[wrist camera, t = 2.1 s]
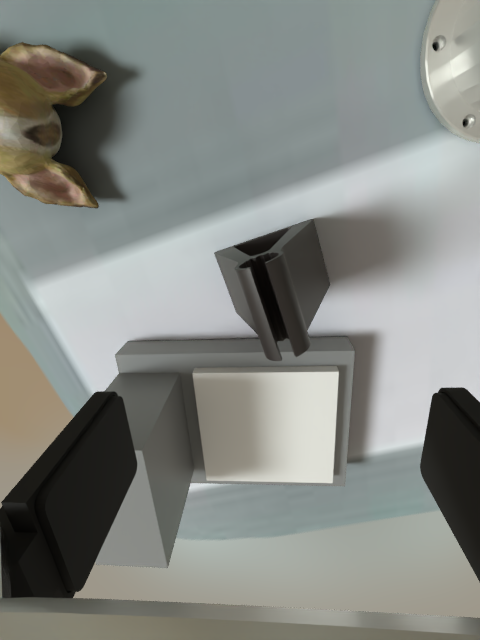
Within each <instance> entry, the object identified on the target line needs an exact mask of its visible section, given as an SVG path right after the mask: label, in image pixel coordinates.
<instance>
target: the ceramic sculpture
mask: <svg viewBox="0 0 480 640" xmlns="http://www.w3.org/2000/svg"><path fill="white" fill-rule="evenodd" d="M106 78H107V74H106V72H103V71H101V70H99V69H97V68H94V67H91V66H90V65H88V64H87V63H85V62H83V61H81V60H79V59H77V58H74V57H72V56H70V55H68V54H66V53H64V52H60V51H58V50H56V49H53V48H51V47H50V46H48V45H30V44H26V43H23V42H22V43H19V44H16V45H14V46H11V47H9V48H8V49H7V50H6V51H4V52H3V53H2V54H1V55H0V174H2V175H3V176H5V177H6V178H7V179H8V181H9V182H10V183H11V184H12V185H13V187H15V188H16V189H17V190H18V191H20V192H21V193H22V194H23V195H25V196H29V197H32V198H35V199H38V200H39V201H41V202H42V203H45V204H58V205H64V206H75V207H83V206H84V207H89V208H98V207H99V206H98V203H97V201H96V200H95V198H94V197H93V196H92V194H91V193H90V191H89V189H88V188H87V186H86V184H85V183H84V181H83V180H82V178H81V177H80V175H79V173H78V172H77V171H76V170H75V169H74V168H72V167H70V166H68V165H65V164H61V163H58V162H56V161H54V160H53V159H51V158H52V157H53V156H54V155H55V154H56V153H57V152H58V150H59V148H60V145H61V140H62V128H61V121H60V119H59V116H58V114H57V112H56V110H55V109H54V107H53V106H52V105H54V104H61V105H66V106H72V107H74V106H78V105H80V104H81V103H82V102H83V101H84V100H85V99H86V98H87V97H88V96H89V95H90V94H91V93H92V92H93V91H94V90H95V89H96V88H97V87H98V86H99V85H100V84H101V83H103V82H104V81H105V80H106Z"/></svg>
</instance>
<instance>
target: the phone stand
mask: <svg viewBox="0 0 480 640" xmlns="http://www.w3.org/2000/svg"><path fill="white" fill-rule="evenodd" d="M214 254H215V256H216V259H217V262H218V264H219V267H220V270H221V272H222V275H223V278H224V281H225V283H226V286H227V289H228V291H229V294H230V297H231V299H232V302H233V305H234V307H235V310H236V313H237V314H238V315H239V316H240V317H241V318H242V319H243V320H244V321H245V322H246V323H247V324H248V325H249V326H250V327H251V328H252V329H253V330H254V331H255V332H256V333H257V334H258V337H259V340H260V343H261V345H262V348H263V351H264V354H265V356H266V358H267V359H269V360H271V361H281V360H282V356H281V353H280V350H279V347H278V344H277V342H278V341H284V340H285V339H286V338H287V339H289V340H290V343H291V347H292V350H293V353H294V356H295V357H298V356H300V355H301V354H303V353H304V352H306V351H307V350H308V348H309V347H310V344H311V343H310V339H309V336H308V332H307V330H308V328H309V326H310V324H311V322H312V320H313V318H314V316H315V314H316V312H317V310H318V308H319V306H320V304H321V302H322V300H323V298H324V296H325V294H326V292H327V290H328V288H329V286H330V282H329V278H328V275H327V271H326V267H325V263H324V259H323V255H322V251H321V248H320V244H319V240H318V236H317V232H316V228H315V224H314V221H313V219H311V220H307V221H304V222H302V223H299V224H296V225H293V226H290V227H287V228H284V229H281V230H278V231H275V232H272V233H269V234H267V235H264V236H261V237H258V238H255V239H252V240H249V241H246V242H243V243H240V244H237V245H234V246H232V247H229V248H226V249H223V250H220V251H217V252H215V253H214Z"/></svg>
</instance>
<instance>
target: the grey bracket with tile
mask: <svg viewBox="0 0 480 640" xmlns="http://www.w3.org/2000/svg"><path fill="white" fill-rule="evenodd" d="M309 339H310V343H311V344H310V347H309V348H308V350H307V351H306V352H304V353H303V354H301V355H300V356H298V357H295V356H294V353H293V350H292V347H291V343H290V340H289V339H287V338H286V339H285V340H284V341H278V342H277V344H278V347H279V350H280V353H281V356H282V360H281V361H271V360H269V359H267V358H266V356H265V354H264V351H263V348H262V345H261V343H260V340H259V338H256V339H211V340H166V341H128V342H127V343H126V344H125V345H124V346H123V347H122V348H121V349H120V350H119V351H118V352H117V353H116V354H115V357H116V362H117V366H118V371H119V374H118V375H117V377H116V378H115V379H114V380H113V382H112V383H111V384H110V385H109V387H108V388H107V389H106V390H105V391H104V392H110V391H114V392H116V393H117V394H118V396H121V397H122V398H123V401H124V405H125V410H126V414H127V419H128V423H129V428H130V432H131V436H132V441H133V445H134V450H135V454H136V459H137V471H136V474H135V477H134V479H133V481H132V483H131V485H130V488H129V490H128V492H127V494H126V496H125V498H124V500H123V503H122V505H121V507H120V509H119V511H118V513H117V516H116V518H115V520H114V522H113V524H112V526H111V529H110V531H109V533H108V535H107V537H106V539H105V542H104V544H103V546H102V548H101V550H100V552H99V555H98V557H97V559H96V561H95V562H96V564H98V565H115V566H136V567H137V566H138V567H158V568H168V565H169V562H170V558H171V554H172V550H173V547H174V543H175V539H176V535H177V532H178V528H179V524H180V520H181V517H182V513H183V509H184V505H185V502H186V498H187V494H188V490H189V487H190V483H218V484H264V485H310V486H345V479H346V465H347V452H348V438H349V424H350V411H351V397H352V383H353V370H354V356H355V350H354V348H353V346H352V344H351V342H350V341H349V339H348V337H347V336H346V337H309Z"/></svg>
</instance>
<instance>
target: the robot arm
mask: <svg viewBox="0 0 480 640" xmlns="http://www.w3.org/2000/svg"><path fill="white" fill-rule="evenodd" d="M432 44H434V45H436V51H434V49H433V48H432ZM420 71H421V80H422V85H423V90H424V94H425V97H426V99H427V102H428V104H429V107H430V109H431V111H432V112H433V113H434V115H435V116H436V118H437V119H438V120H439V122H440V123H441V124H442V125H443V126H444V127H446V128H447V129H448V130H449V131H450V132H451V133H453V134H455V135H457V136H459V137H461V138H463V139H465V140H468V141H472V142H476V143H480V0H436V1H435V3H434V5H433V7H432V9H431V12H430V15H429V18H428V21H427V24H426V28H425V31H424V34H423V41H422V48H421V54H420ZM463 120H464V121H465V126H463V123H462V122H463ZM420 469H421V474H422V477H423V479H424V481H425V483H426V484H427V486H428V488H429V490H430V492H431V494H432V495H433V497H434V499H435V501H436V503H437V505H438V506H439V508H440V510H441V512H442V514H443V515H444V517H445V519H446V521H447V523H448V524H449V526H450V528H451V530H452V532H453V534H454V536H455V537H456V539H457V541H458V543H459V545H460V547H461V548H462V550H463V552H464V554H465V556H466V558H467V559H468V561H469V563H470V565H471V567H472V568H473V570H474V572H475V574H476V576H477V578H478V580H479V581H480V402H479V401H478V400H477V399H476V398H475V397H474V396H473V395H472V394H471V393H470V392H469V391H468V390H466V389H465V388H441V389H440V390H439V391H438V393H434V394H433V396H432V401H431V407H430V412H429V418H428V424H427V429H426V435H425V441H424V447H423V452H422V458H421V464H420ZM136 471H137V459H136V454H135V450H134V445H133V441H132V436H131V432H130V428H129V423H128V419H127V414H126V410H125V405H124V401H123V398H122V397H121V396H118V394H117V393H116V392H114V391H110V392H95V393H94V394H93V395H92V397H91V398H90V399H89V400H88V401H87V402H86V404H85V405H84V406H83V407H82V408H81V409H80V411H79V412H78V413H77V414H76V415H75V417H74V418H73V419H72V420H71V421H70V422H69V424H68V425H67V426H66V427H65V428H64V430H63V431H62V432H61V433H60V434H59V435H58V436H57V438H56V439H55V440H54V441H53V442H52V444H51V445H50V446H49V447H48V448H47V449H46V451H45V452H44V453H43V454H42V455H41V456H40V458H39V459H38V460H37V461H36V463H34V465H33V466H32V467H31V468H30V469H29V471H28V472H27V473H26V474H25V475H24V476H23V478H22V479H21V480H20V481H19V482H18V483H17V485H16V486H15V487H14V488H13V489H12V490H11V492H10V493H9V494H8V495H7V496H6V497H5V499H4V500H3V501H2V502H1V503H2V505H3V506H2V507H1V509H0V640H480V618H471V617H452V616H434V615H417V614H399V613H381V612H363V611H345V610H344V611H343V610H324V609H305V608H286V607H285V608H284V607H266V606H245V605H225V604H204V603H181V602H179V603H178V602H157V601H134V600H112V599H83V598H73V596H74V594H75V592H78V591H80V590H81V589H82V588H83V586H84V585H85V583H86V580H87V578H88V576H89V574H90V572H91V569H92V567H93V565H94V563H95V561H96V559H97V557H98V555H99V552H100V550H101V548H102V546H103V544H104V542H105V539H106V537H107V535H108V533H109V531H110V529H111V526H112V524H113V522H114V520H115V518H116V516H117V513H118V511H119V509H120V507H121V505H122V503H123V500H124V498H125V496H126V494H127V492H128V490H129V488H130V485H131V483H132V481H133V479H134V477H135V474H136Z"/></svg>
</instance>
